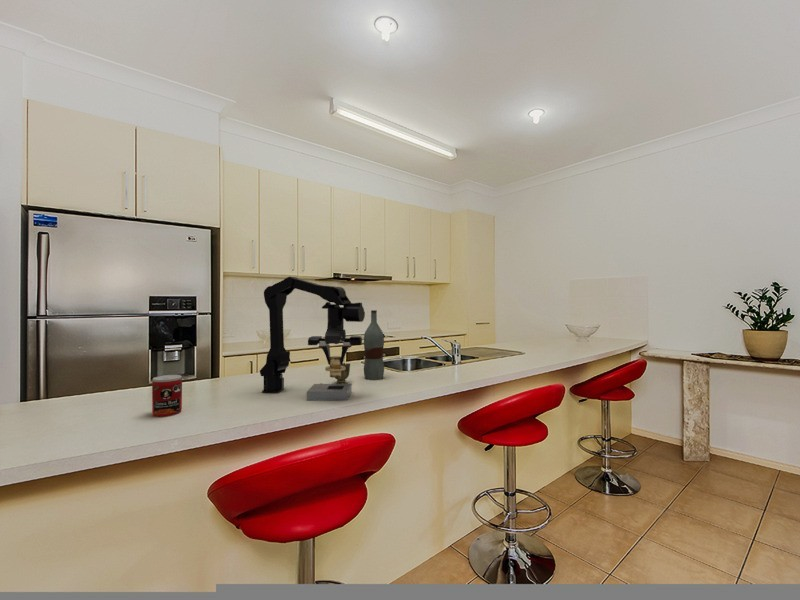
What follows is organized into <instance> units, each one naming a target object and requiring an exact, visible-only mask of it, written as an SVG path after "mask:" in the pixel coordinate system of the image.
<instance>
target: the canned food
mask: <svg viewBox="0 0 800 600" xmlns="http://www.w3.org/2000/svg"><path fill="white" fill-rule="evenodd" d="M151 383H152V384H151V389H152V390H151V391H152V393H151V395H152V396H151V397H152V398H151V399H152V400H151V402H152V405H151V407H152V409H151V410H152V411H151V412H152V415H153V417H157V418H164V417H166V418H167V417H172V416H175V415H178V414H180V413H181V412H182V410H183V375H180V374H165V375H158V376H155V377H153V378H152V382H151Z"/></svg>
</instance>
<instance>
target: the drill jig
mask: <svg viewBox="0 0 800 600" xmlns="http://www.w3.org/2000/svg"><path fill="white" fill-rule="evenodd" d="M352 388H353V387H352V383H343V384H339V383H313V384H312V385H311V386H310V388H309V389H308V390H307V391H306V401H348V400H349V398H350V396H351V393H352Z"/></svg>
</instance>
